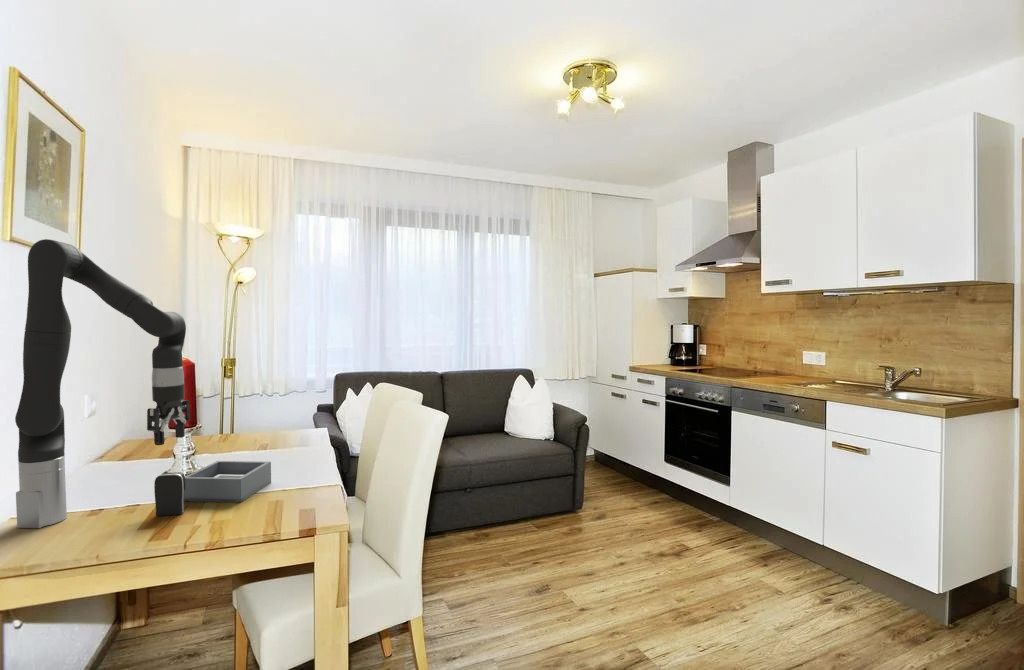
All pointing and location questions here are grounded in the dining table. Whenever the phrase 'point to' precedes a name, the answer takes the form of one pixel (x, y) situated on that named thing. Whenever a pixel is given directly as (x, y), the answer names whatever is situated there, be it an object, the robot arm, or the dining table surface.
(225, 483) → the walled box
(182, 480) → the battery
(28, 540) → the dining table surface
